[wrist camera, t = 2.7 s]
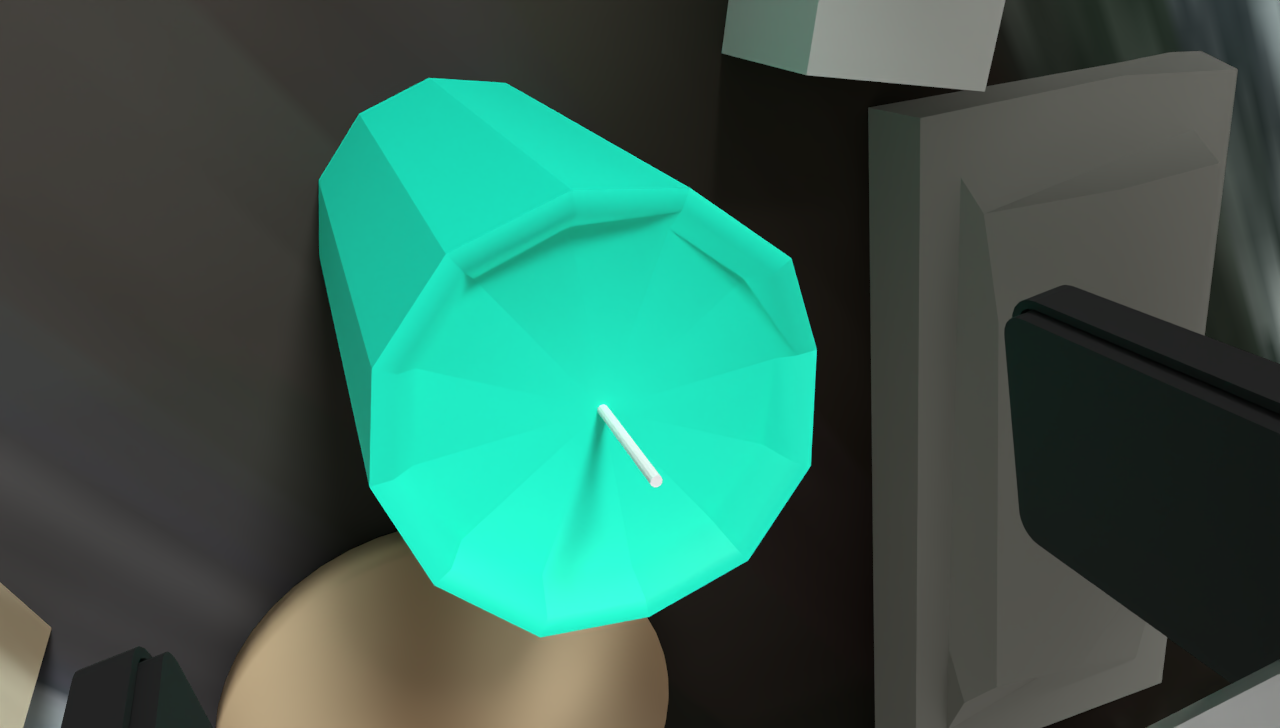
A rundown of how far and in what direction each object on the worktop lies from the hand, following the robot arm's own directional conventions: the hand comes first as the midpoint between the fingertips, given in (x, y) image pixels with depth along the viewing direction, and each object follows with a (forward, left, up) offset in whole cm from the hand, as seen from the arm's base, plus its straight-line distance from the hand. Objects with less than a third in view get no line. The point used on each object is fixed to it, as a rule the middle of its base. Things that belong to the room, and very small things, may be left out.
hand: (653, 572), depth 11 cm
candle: (0, -1, -13) cm, 13 cm away
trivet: (+4, +11, -13) cm, 18 cm away
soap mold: (-14, +10, -14) cm, 22 cm away
